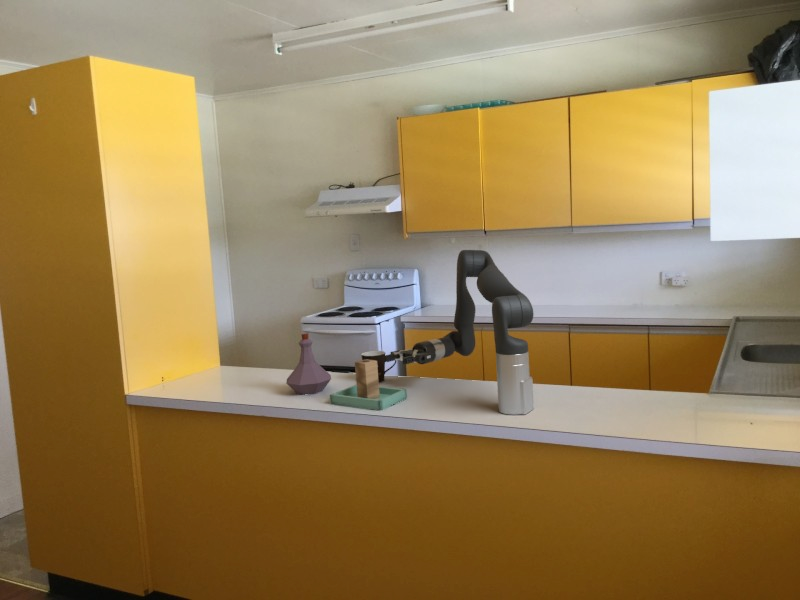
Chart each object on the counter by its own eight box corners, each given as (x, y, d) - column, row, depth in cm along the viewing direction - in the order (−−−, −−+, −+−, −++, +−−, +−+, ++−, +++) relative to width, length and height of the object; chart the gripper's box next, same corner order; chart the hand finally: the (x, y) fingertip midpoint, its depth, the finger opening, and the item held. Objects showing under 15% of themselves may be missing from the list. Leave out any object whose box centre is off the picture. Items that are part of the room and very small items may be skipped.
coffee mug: (358, 383, 240) (356, 355, 239) (371, 377, 248) (368, 350, 246) (387, 384, 235) (385, 356, 233) (398, 378, 242) (397, 351, 241)
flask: (340, 384, 239) (335, 329, 237) (323, 397, 224) (318, 338, 221) (297, 385, 243) (292, 330, 241) (278, 397, 228) (272, 339, 225)
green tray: (407, 398, 215) (406, 389, 215) (380, 410, 204) (380, 401, 203) (357, 392, 226) (357, 384, 226) (330, 403, 215) (329, 394, 215)
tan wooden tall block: (379, 397, 215) (377, 360, 213) (367, 401, 211) (364, 363, 210) (369, 395, 218) (366, 358, 217) (357, 399, 215) (354, 362, 214)
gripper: (413, 339, 237) (379, 347, 226) (443, 342, 227) (408, 350, 216) (415, 360, 238) (380, 369, 227) (444, 364, 228) (410, 373, 217)
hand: (394, 360), depth 221 cm, fingers open, 8 cm apart
